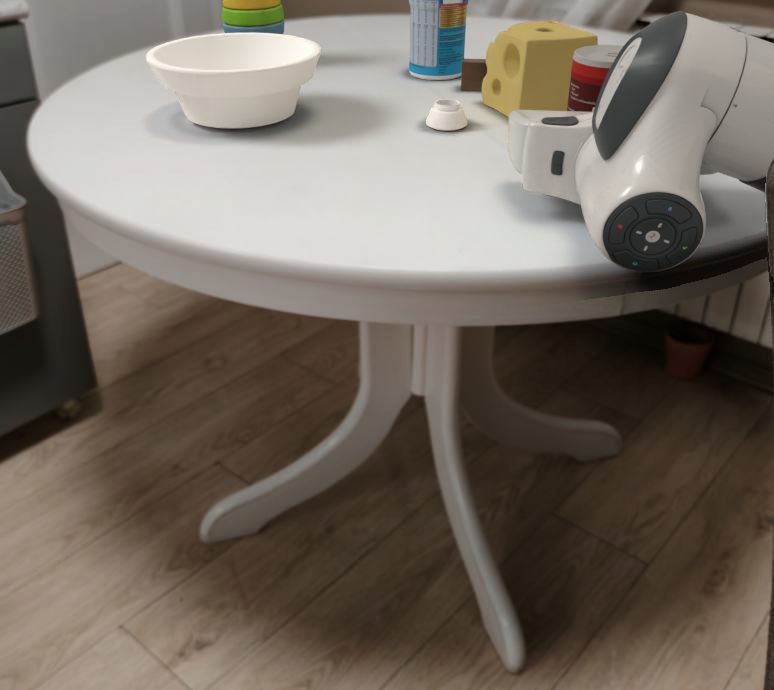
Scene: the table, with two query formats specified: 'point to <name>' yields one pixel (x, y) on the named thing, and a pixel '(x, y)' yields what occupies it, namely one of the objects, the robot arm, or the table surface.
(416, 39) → the beverage bottle
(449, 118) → the lidless jar
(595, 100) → the canned food
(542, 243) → the table surface
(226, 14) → the stacking bear
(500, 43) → the cheese
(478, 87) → the back rail
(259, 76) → the bowl
